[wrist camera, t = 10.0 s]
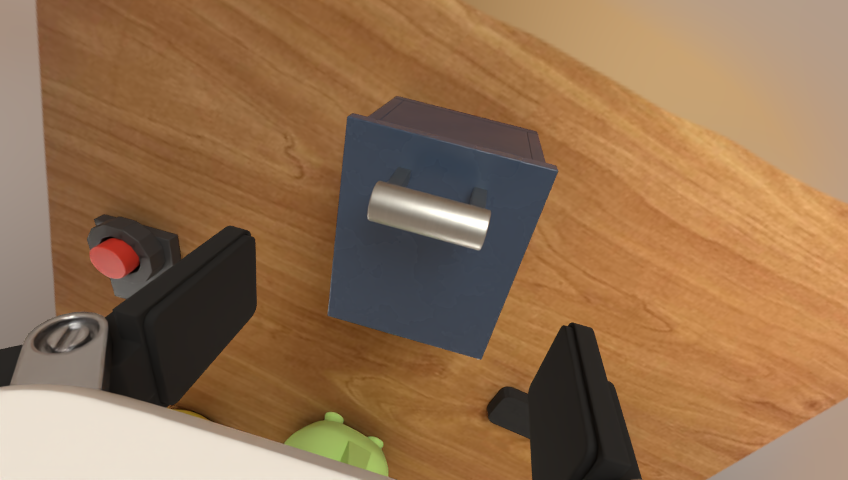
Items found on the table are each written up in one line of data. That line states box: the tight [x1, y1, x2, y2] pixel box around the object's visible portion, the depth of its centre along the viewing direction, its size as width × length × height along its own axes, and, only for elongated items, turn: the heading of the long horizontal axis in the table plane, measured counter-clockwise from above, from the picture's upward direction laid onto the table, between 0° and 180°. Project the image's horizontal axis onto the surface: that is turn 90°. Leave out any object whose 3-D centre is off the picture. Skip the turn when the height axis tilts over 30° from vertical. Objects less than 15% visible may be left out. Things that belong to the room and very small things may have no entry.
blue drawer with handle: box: [328, 113, 558, 360], centre depth 21 cm, size 13×11×5 cm
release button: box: [90, 238, 140, 279], centre depth 37 cm, size 4×4×2 cm
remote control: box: [487, 387, 530, 439], centre depth 42 cm, size 5×2×15 cm
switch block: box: [87, 214, 181, 299], centre depth 40 cm, size 11×8×3 cm
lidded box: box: [368, 96, 546, 163], centre depth 28 cm, size 13×11×10 cm
